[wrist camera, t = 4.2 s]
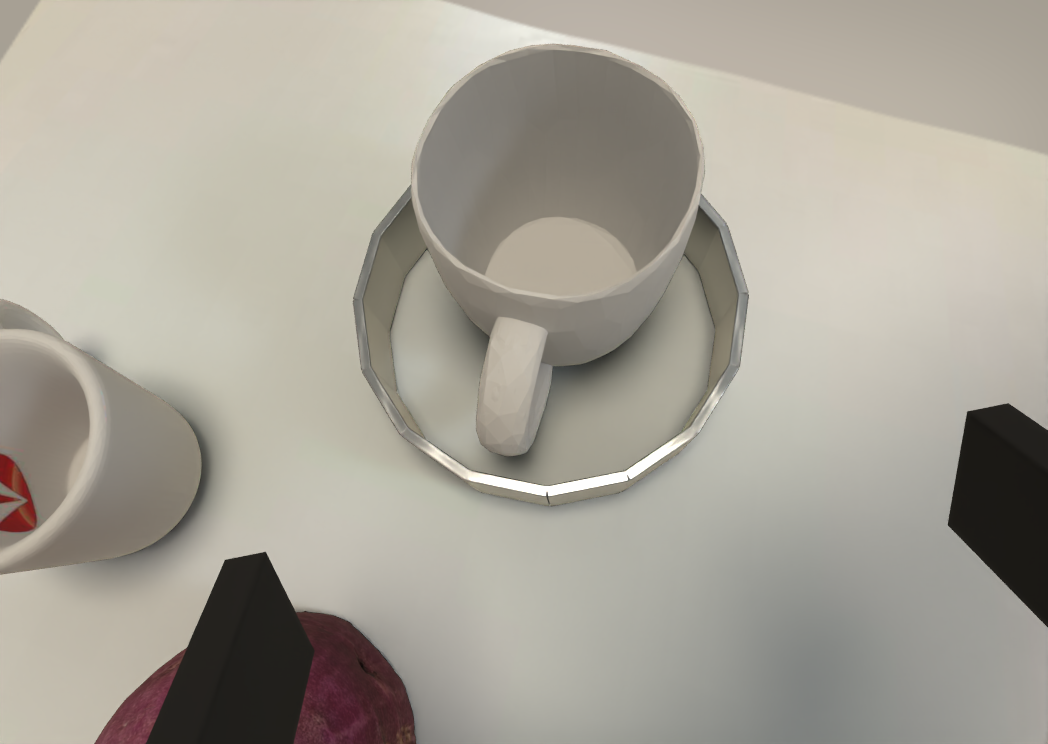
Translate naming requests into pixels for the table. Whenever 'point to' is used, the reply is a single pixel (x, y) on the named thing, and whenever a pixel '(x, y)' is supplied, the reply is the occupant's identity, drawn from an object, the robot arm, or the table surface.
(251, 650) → the robot arm
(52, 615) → the table surface
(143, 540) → the cup
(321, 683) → the vegetable
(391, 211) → the ring
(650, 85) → the mug
